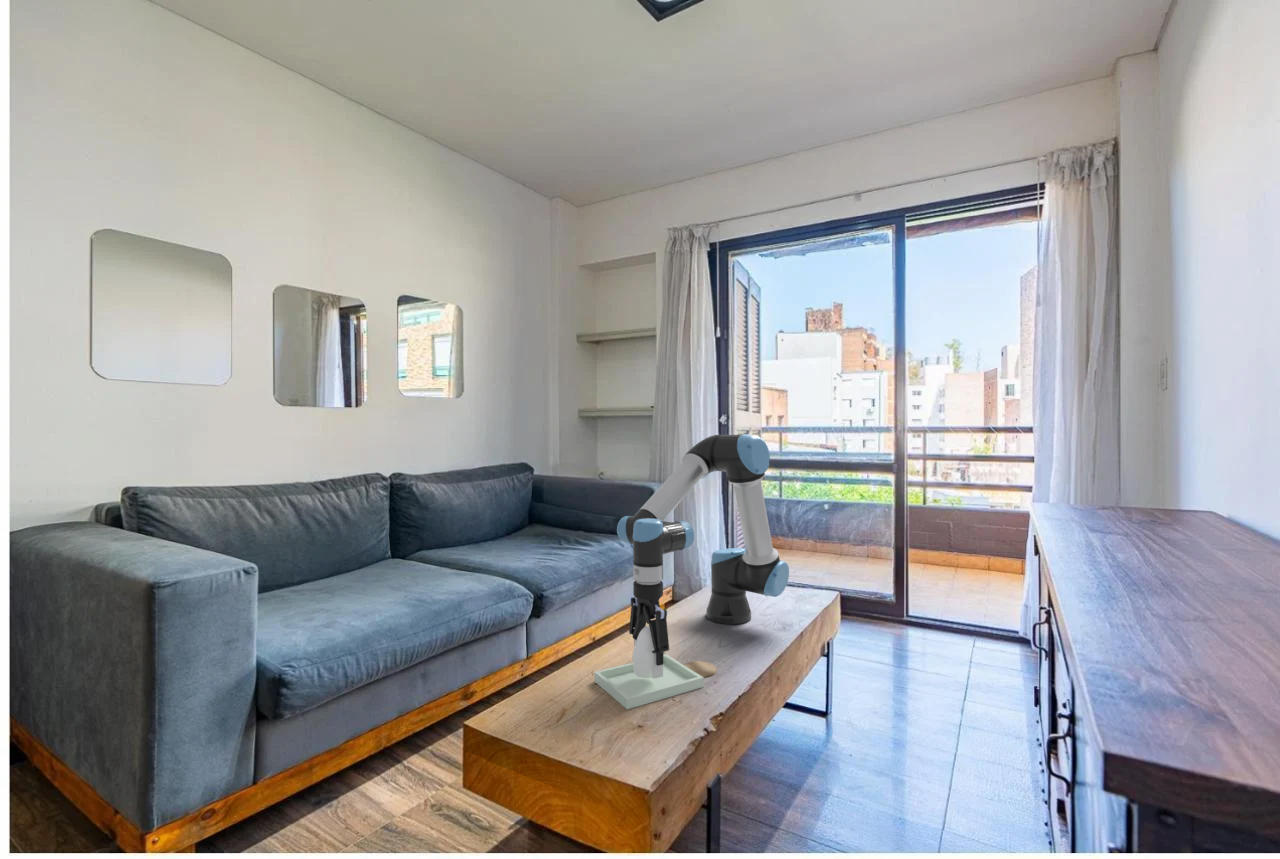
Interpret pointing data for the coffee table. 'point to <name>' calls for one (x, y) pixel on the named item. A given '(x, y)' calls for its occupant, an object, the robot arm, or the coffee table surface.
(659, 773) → the coffee table surface
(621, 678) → the tray
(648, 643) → the figurine
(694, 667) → the metal coaster
